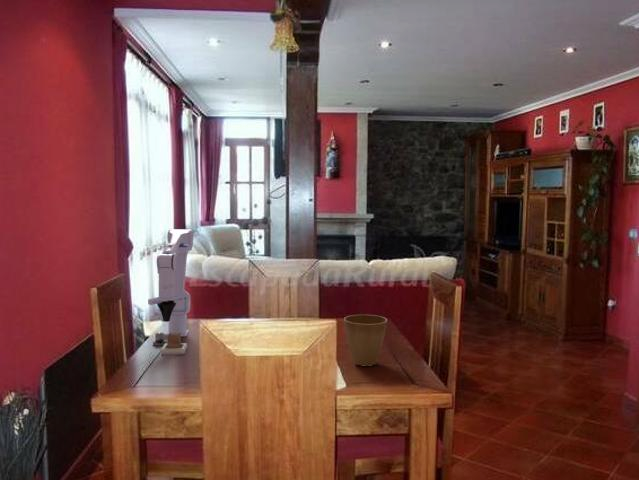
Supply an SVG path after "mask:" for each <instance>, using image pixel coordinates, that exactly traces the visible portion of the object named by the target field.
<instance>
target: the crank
mask: <svg viewBox="0 0 639 480" xmlns="http://www.w3.org/2000/svg"><path fill="white" fill-rule="evenodd" d="M154 335H155V340H154V341H155V342H164V341H168V333H164V332H159V331H158V332H156V333H155V334H154Z"/></svg>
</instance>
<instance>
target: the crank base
mask: <svg viewBox="0 0 639 480" xmlns="http://www.w3.org/2000/svg"><path fill="white" fill-rule="evenodd" d="M176 333H179V332H176ZM165 343H167V340H164V342H155V340H154V341H153V342H152V346H153V347H163V346H164V344H165Z"/></svg>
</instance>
